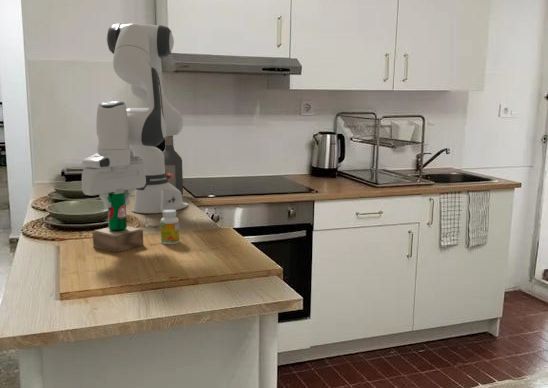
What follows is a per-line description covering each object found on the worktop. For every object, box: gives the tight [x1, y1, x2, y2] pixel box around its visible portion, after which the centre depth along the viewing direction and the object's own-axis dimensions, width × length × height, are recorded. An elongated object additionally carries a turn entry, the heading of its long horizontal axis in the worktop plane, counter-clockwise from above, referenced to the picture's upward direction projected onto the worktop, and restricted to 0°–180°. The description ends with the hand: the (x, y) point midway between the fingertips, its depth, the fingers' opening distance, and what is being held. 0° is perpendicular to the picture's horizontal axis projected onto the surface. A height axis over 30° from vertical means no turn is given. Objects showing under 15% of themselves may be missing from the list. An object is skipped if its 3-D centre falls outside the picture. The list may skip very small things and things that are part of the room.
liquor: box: [162, 135, 184, 196], centre depth 242 cm, size 9×9×30 cm
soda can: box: [107, 189, 128, 231], centre depth 160 cm, size 5×5×12 cm
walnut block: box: [92, 225, 144, 254], centre depth 162 cm, size 10×10×5 cm
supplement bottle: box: [160, 209, 180, 245], centre depth 166 cm, size 5×5×10 cm
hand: (116, 206), depth 160 cm, fingers closed on soda can, 5 cm apart
